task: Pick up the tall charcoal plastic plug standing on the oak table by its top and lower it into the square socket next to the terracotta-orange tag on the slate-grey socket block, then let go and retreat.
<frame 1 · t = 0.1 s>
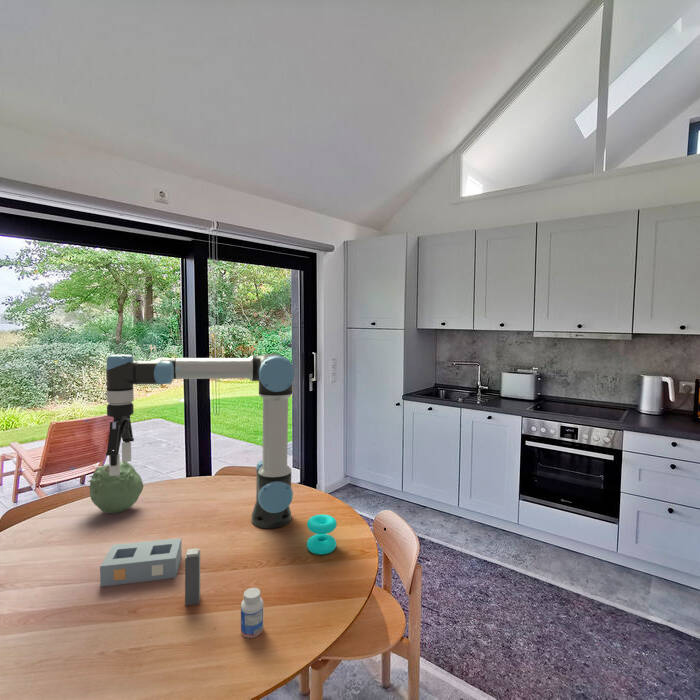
hand: (120, 468, 136), 28 cm above the table, fingers open, 13 cm apart
pill bottle: (252, 631, 104), on the table
turquoise spool: (321, 548, 143), on the table
plug: (192, 600, 114), on the table
socket block: (143, 570, 128), on the table
cabbage: (117, 512, 167), on the table
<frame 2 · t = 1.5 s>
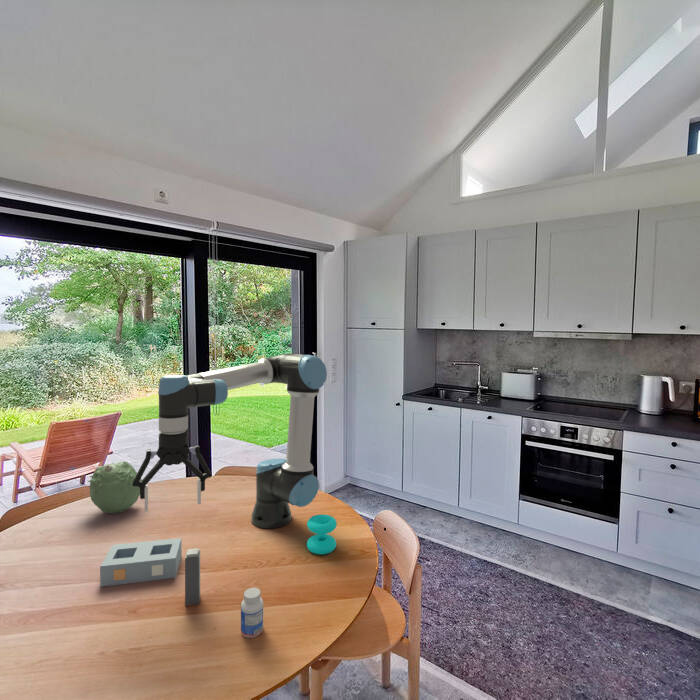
hand: (173, 506, 118), 24 cm above the table, fingers open, 13 cm apart
nothing on the table moved.
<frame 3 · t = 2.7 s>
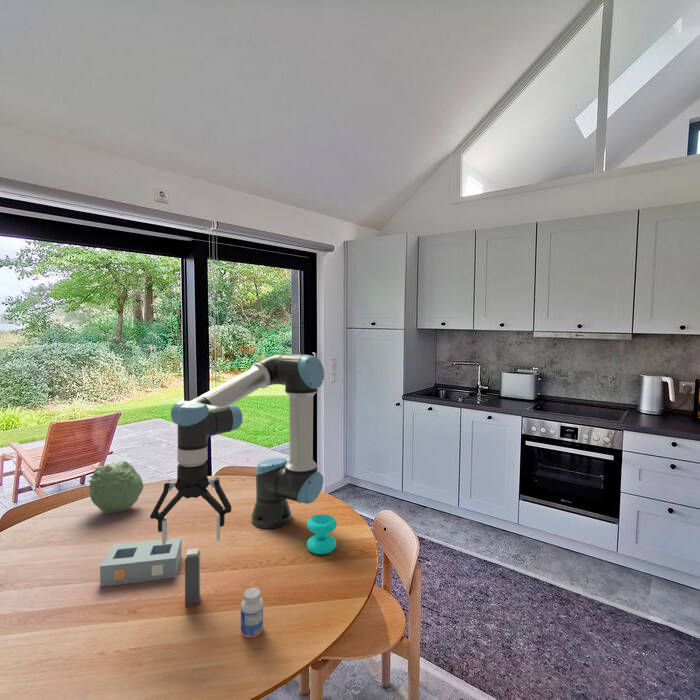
hand: (191, 540, 113), 17 cm above the table, fingers open, 13 cm apart
nothing on the table moved.
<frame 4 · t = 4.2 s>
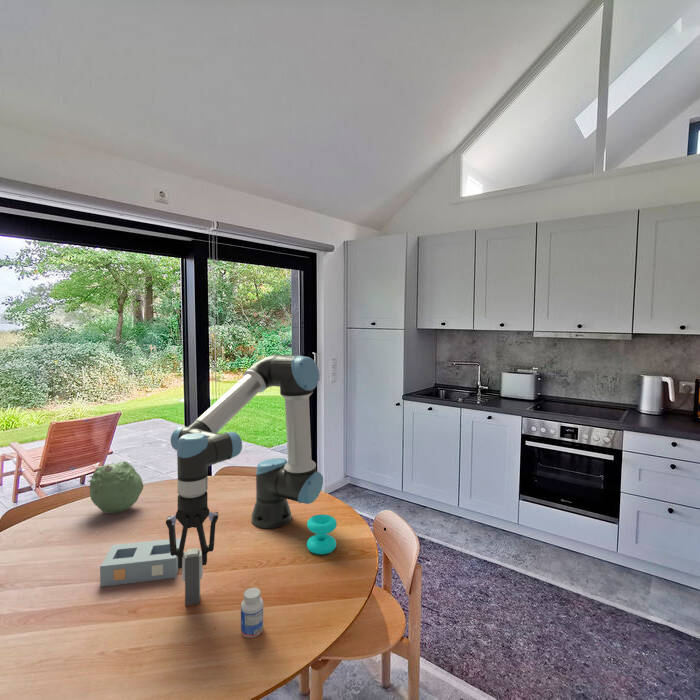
hand: (192, 577, 114), 7 cm above the table, fingers closed on plug, 3 cm apart
plug: (192, 600, 114), on the table, touching gripper
everything else where it was.
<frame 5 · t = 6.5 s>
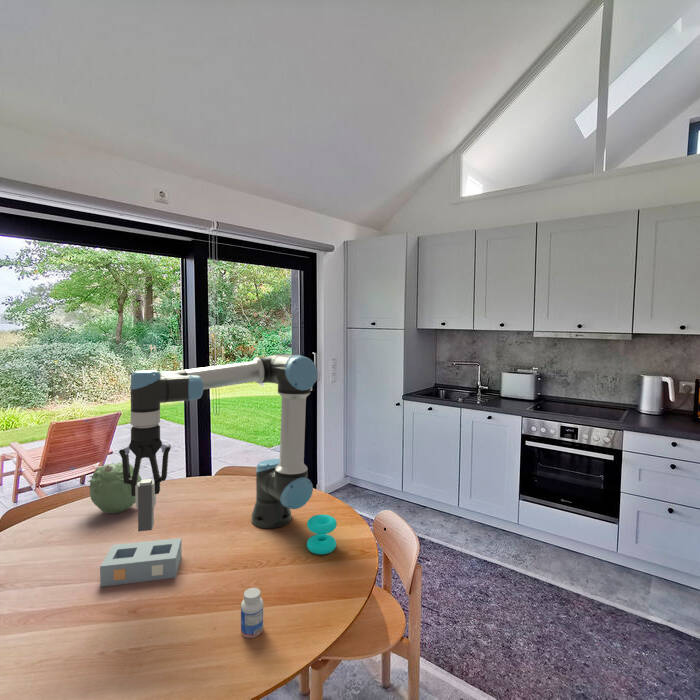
hand: (145, 505, 121), 23 cm above the table, fingers closed on plug, 3 cm apart
plug: (146, 527, 121), point 16 cm above the table, touching gripper
everything else where it was.
when the fingers open (9 cm above the table, at t = 9.2 s): plug stays where it is, resting on socket block.
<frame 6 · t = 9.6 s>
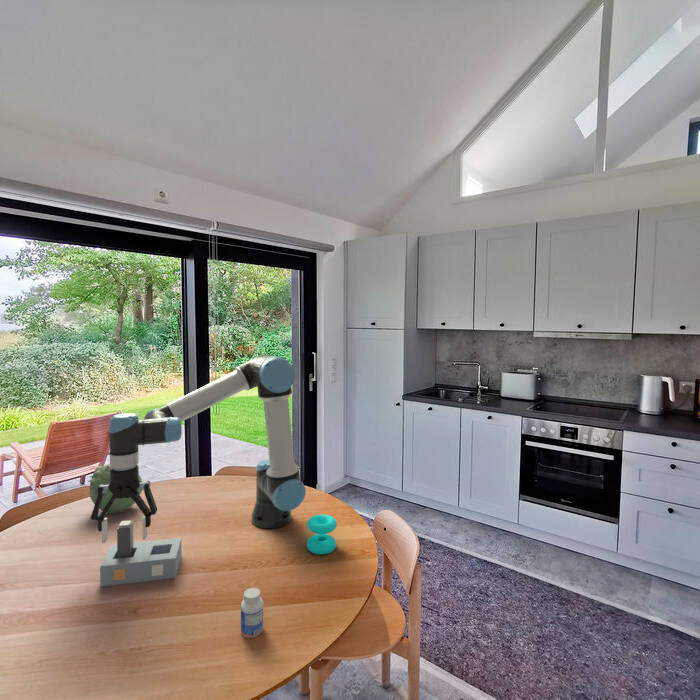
hand: (125, 539, 126), 10 cm above the table, fingers open, 10 cm apart
plug: (125, 567, 126), point 2 cm above the table, touching socket block
everything else where it was.
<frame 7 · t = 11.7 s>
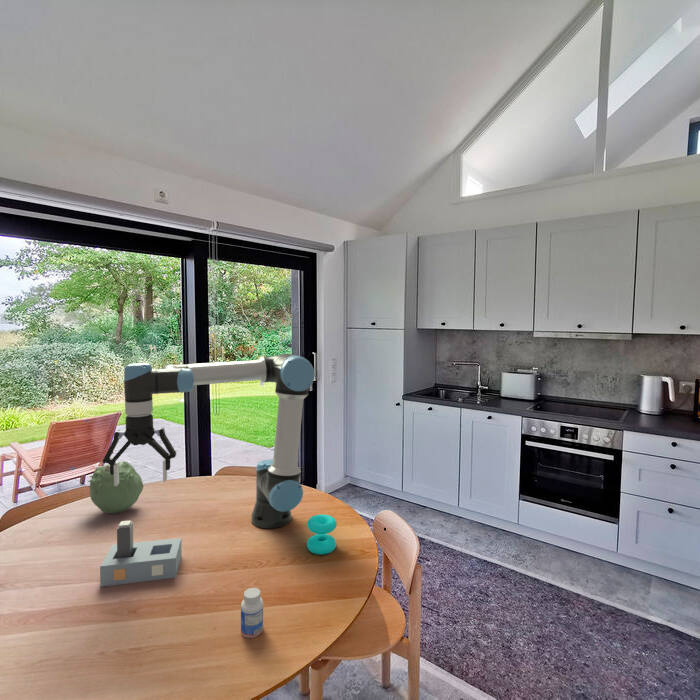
hand: (141, 482, 130), 26 cm above the table, fingers open, 13 cm apart
nothing on the table moved.
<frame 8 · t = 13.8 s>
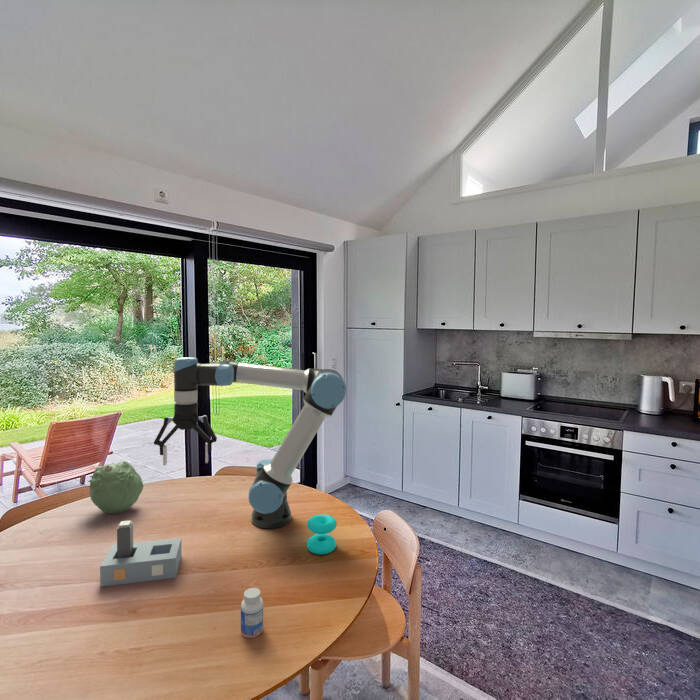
hand: (186, 463, 146), 27 cm above the table, fingers open, 13 cm apart
nothing on the table moved.
at the end: plug 0.1 cm from the target spot on the socket block, point 1.5 cm above the socket block's base; plug tilted 0°; the gripper is holding nothing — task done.
